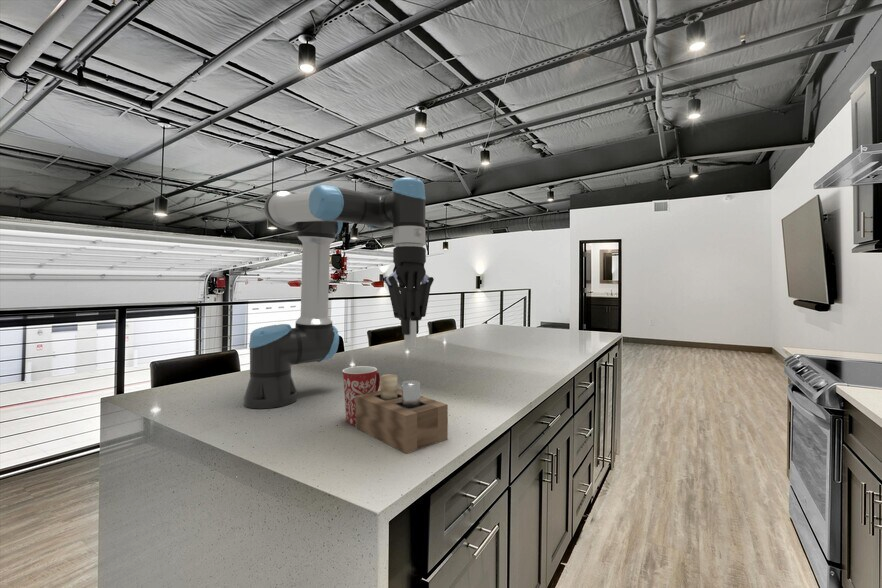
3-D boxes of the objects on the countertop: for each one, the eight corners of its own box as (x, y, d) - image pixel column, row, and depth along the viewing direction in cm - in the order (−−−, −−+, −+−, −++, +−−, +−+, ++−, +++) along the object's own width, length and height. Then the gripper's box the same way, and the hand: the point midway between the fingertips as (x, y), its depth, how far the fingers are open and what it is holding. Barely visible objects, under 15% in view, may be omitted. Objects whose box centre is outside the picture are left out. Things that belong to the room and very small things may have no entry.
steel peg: (398, 414, 91) (398, 382, 91) (412, 410, 94) (412, 379, 94) (409, 418, 88) (409, 385, 88) (423, 414, 90) (423, 382, 90)
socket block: (355, 427, 98) (355, 395, 98) (395, 416, 106) (394, 387, 106) (405, 453, 82) (405, 415, 82) (447, 438, 90) (447, 404, 90)
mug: (362, 428, 97) (362, 374, 97) (335, 422, 102) (334, 370, 101) (392, 414, 108) (391, 365, 108) (366, 409, 113) (366, 362, 113)
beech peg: (377, 405, 97) (377, 376, 97) (391, 402, 100) (391, 373, 100) (386, 409, 94) (386, 378, 94) (400, 406, 97) (400, 376, 97)
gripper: (395, 243, 83) (396, 353, 83) (441, 247, 92) (442, 347, 92) (376, 246, 89) (377, 349, 89) (421, 250, 98) (422, 344, 98)
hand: (410, 348), depth 91 cm, fingers closed
